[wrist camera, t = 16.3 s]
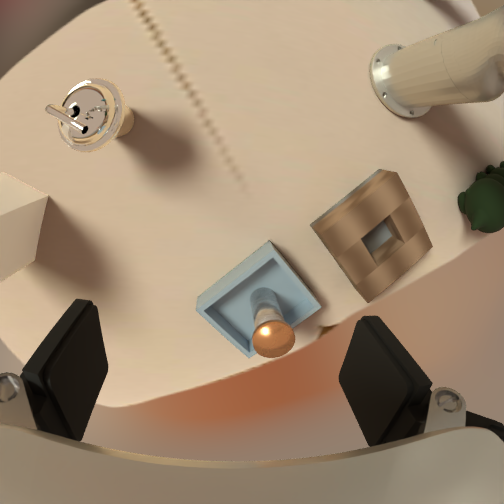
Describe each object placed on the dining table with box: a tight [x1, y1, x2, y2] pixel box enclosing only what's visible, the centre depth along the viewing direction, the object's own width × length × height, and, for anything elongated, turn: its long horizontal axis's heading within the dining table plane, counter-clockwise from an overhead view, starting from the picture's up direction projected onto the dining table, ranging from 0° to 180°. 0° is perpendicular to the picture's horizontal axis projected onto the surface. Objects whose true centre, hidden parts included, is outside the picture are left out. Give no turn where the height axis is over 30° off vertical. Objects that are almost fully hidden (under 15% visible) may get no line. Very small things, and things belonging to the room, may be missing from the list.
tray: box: [196, 240, 321, 358], centre depth 44 cm, size 14×12×4 cm
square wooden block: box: [310, 169, 433, 303], centre depth 41 cm, size 14×14×5 cm
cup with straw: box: [45, 78, 134, 152], centre depth 26 cm, size 8×9×20 cm
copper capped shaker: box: [250, 287, 295, 358], centre depth 40 cm, size 5×5×11 cm
